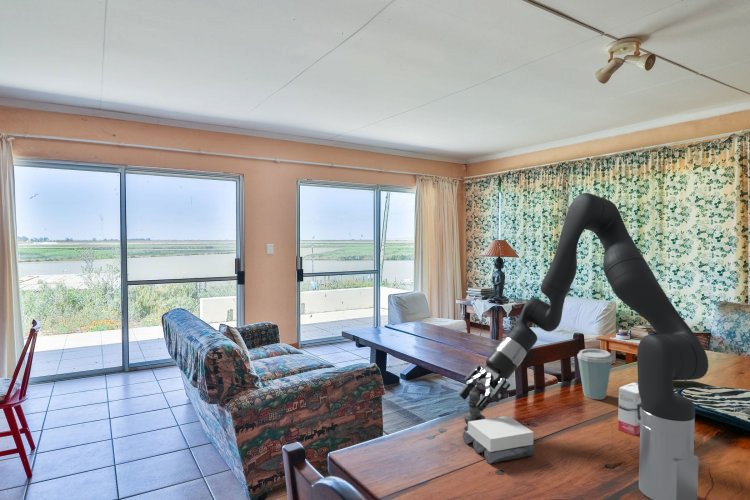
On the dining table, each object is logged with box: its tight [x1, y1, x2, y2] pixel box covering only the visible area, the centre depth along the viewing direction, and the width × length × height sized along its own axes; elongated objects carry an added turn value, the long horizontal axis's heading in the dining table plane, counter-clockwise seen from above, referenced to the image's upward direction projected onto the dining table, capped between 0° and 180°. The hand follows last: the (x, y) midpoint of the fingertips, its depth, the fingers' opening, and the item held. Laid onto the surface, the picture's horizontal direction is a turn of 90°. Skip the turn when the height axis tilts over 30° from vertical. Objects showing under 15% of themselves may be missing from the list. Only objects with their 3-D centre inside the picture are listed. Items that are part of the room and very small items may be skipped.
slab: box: [467, 415, 535, 452], centre depth 107 cm, size 10×12×3 cm
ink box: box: [617, 382, 641, 436], centre depth 120 cm, size 8×5×12 cm, turn 123°
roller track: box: [462, 430, 536, 464], centre depth 109 cm, size 13×12×3 cm
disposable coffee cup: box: [577, 348, 613, 400], centre depth 145 cm, size 11×11×15 cm
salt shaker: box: [463, 387, 487, 431], centre depth 119 cm, size 6×6×12 cm
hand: (469, 403), depth 118 cm, fingers open, 8 cm apart
